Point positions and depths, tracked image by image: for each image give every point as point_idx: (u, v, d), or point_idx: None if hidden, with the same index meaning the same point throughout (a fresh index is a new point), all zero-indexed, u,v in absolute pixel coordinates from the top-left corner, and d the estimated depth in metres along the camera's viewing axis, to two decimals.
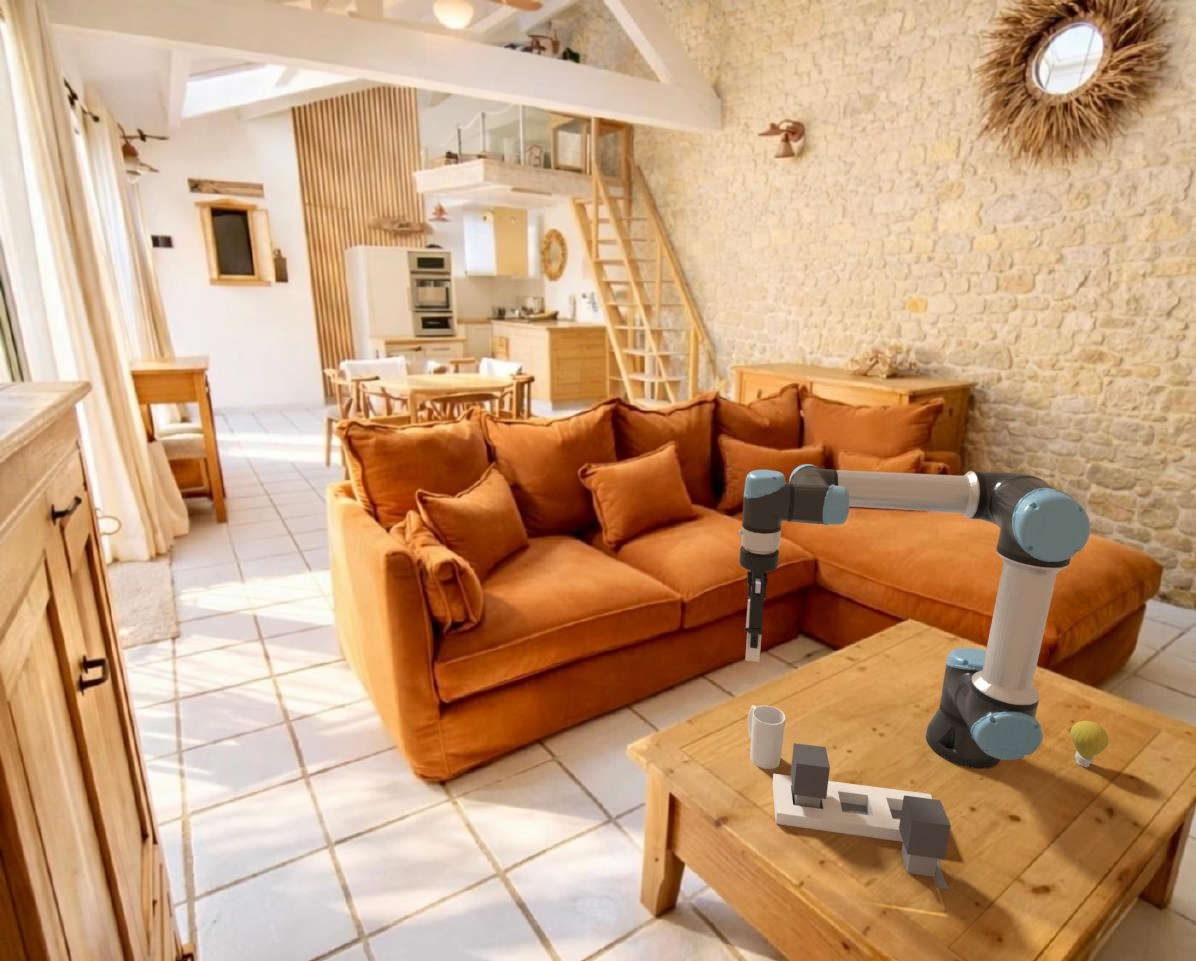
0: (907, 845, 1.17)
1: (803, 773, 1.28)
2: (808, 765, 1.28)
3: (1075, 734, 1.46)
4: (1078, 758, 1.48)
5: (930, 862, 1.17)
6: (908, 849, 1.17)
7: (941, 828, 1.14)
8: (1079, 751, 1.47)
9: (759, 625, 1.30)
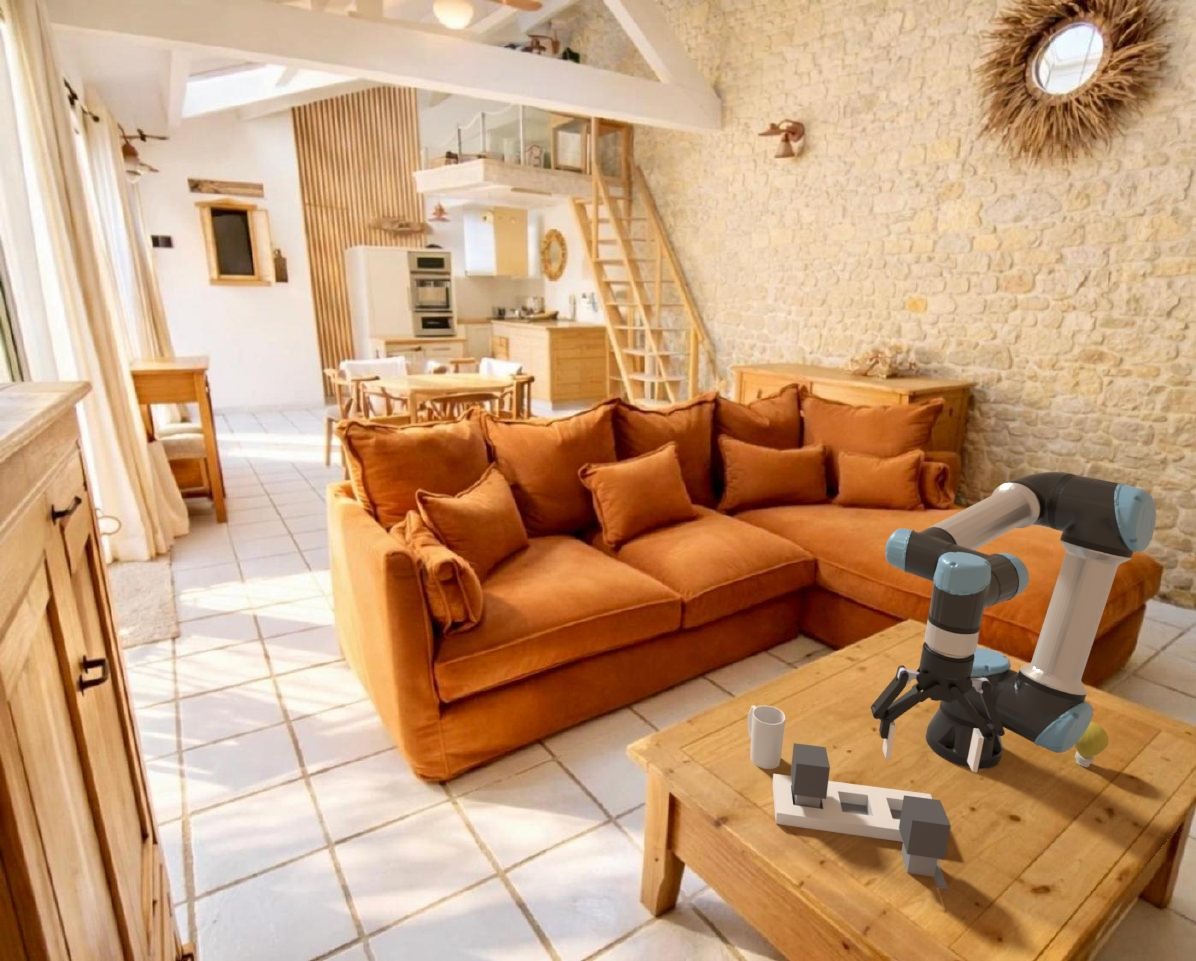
0: (907, 845, 1.17)
1: (803, 773, 1.28)
2: (808, 765, 1.28)
3: None
4: (1078, 758, 1.48)
5: (930, 862, 1.17)
6: (908, 849, 1.17)
7: (941, 828, 1.14)
8: (1079, 751, 1.47)
9: (877, 707, 1.15)
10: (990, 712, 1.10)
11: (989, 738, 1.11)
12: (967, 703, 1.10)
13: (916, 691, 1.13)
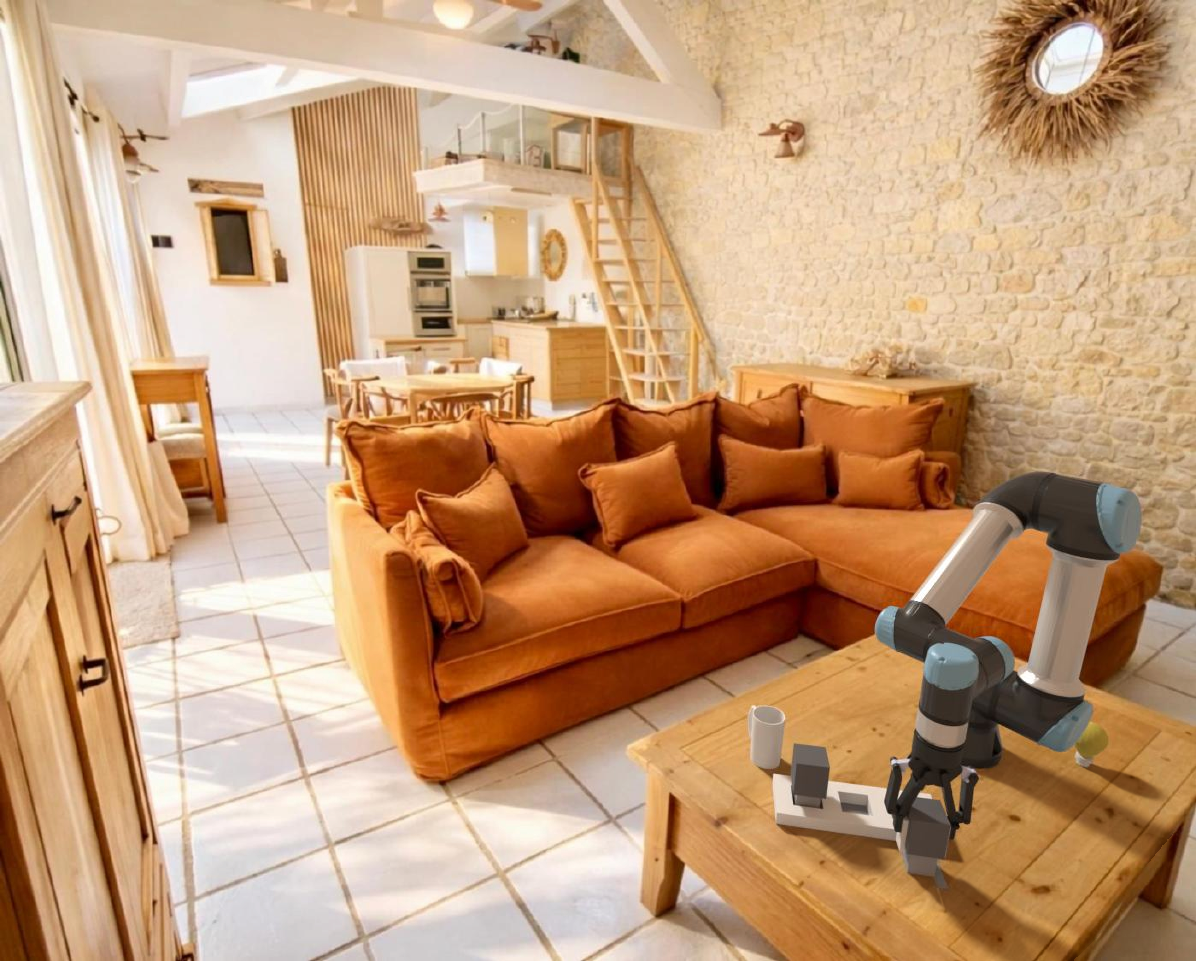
0: (907, 845, 1.17)
1: (803, 773, 1.28)
2: (808, 765, 1.28)
3: None
4: (1078, 758, 1.48)
5: (930, 862, 1.17)
6: (908, 849, 1.17)
7: (941, 828, 1.14)
8: (1079, 751, 1.47)
9: (887, 803, 1.18)
10: (966, 801, 1.14)
11: (955, 827, 1.15)
12: (950, 791, 1.14)
13: (913, 781, 1.16)
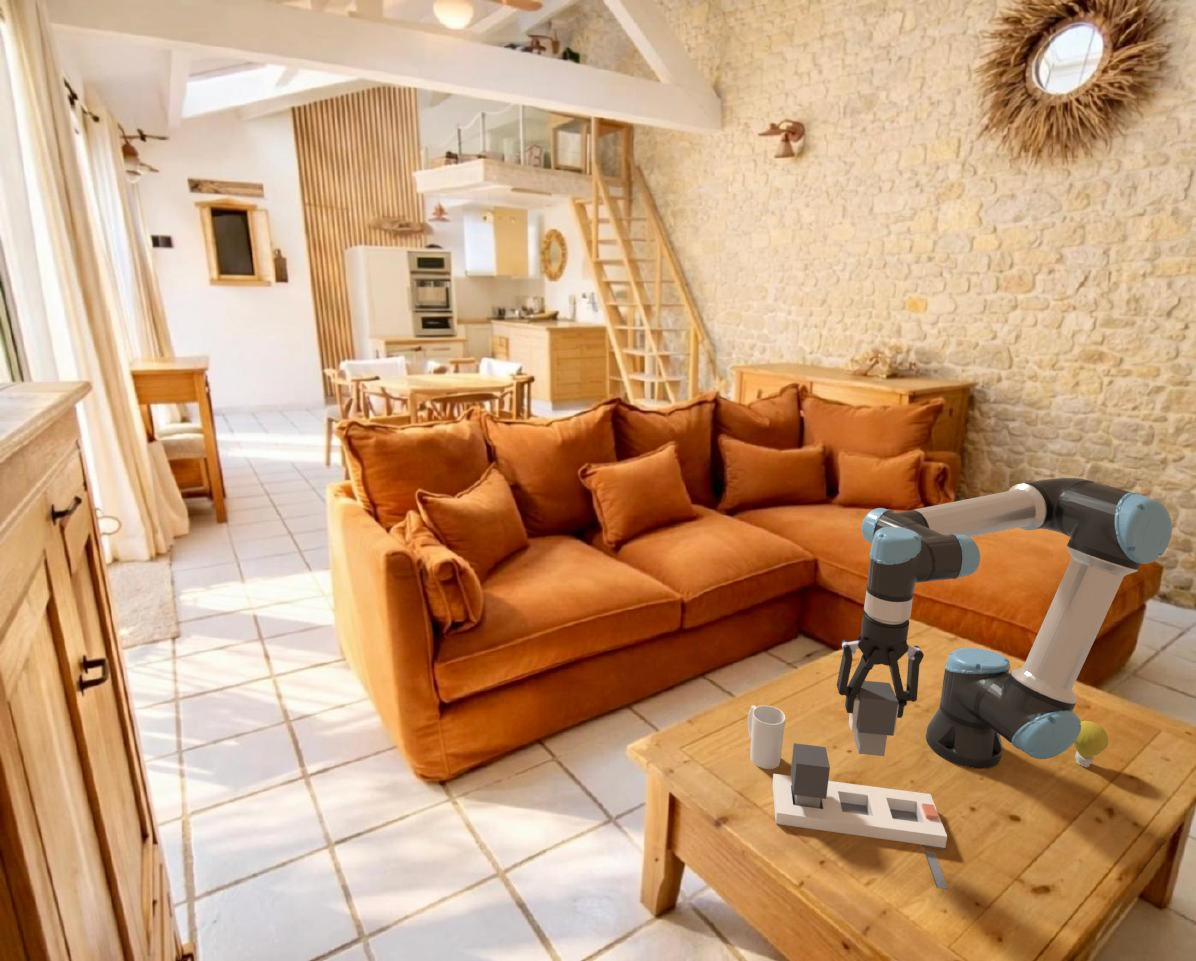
0: (858, 724, 1.23)
1: (803, 773, 1.28)
2: (808, 765, 1.28)
3: None
4: (1078, 758, 1.48)
5: (881, 740, 1.24)
6: (859, 727, 1.23)
7: (889, 705, 1.21)
8: (1079, 751, 1.47)
9: (839, 685, 1.24)
10: (912, 678, 1.21)
11: (902, 704, 1.21)
12: (897, 668, 1.20)
13: (863, 661, 1.22)
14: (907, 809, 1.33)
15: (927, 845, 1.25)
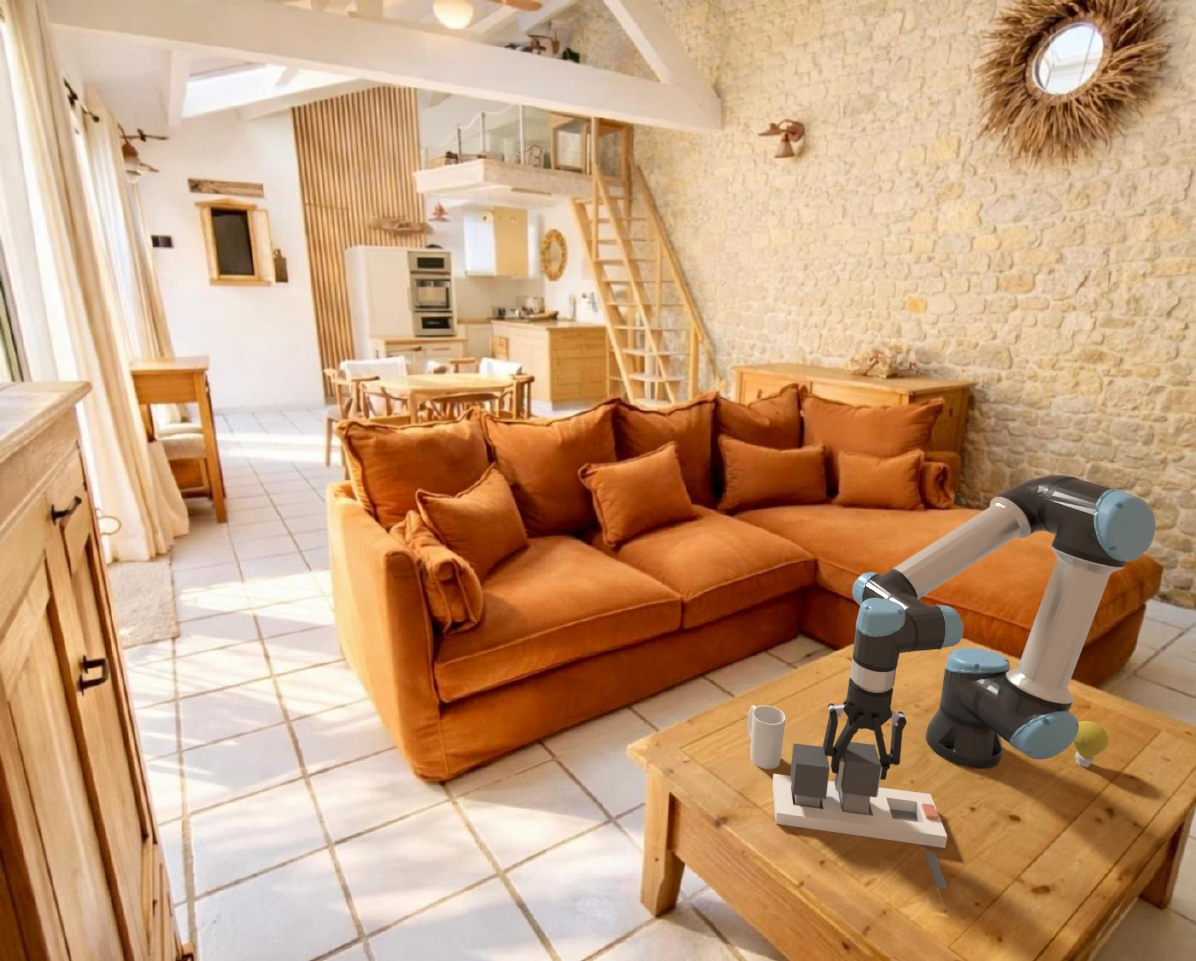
0: (842, 784, 1.28)
1: (802, 773, 1.28)
2: (807, 765, 1.28)
3: None
4: (1078, 758, 1.48)
5: (864, 801, 1.28)
6: (843, 788, 1.27)
7: (872, 768, 1.25)
8: (1079, 751, 1.47)
9: (825, 746, 1.28)
10: (895, 743, 1.25)
11: (886, 767, 1.26)
12: (881, 734, 1.25)
13: (849, 725, 1.27)
14: (907, 809, 1.33)
15: (927, 845, 1.25)
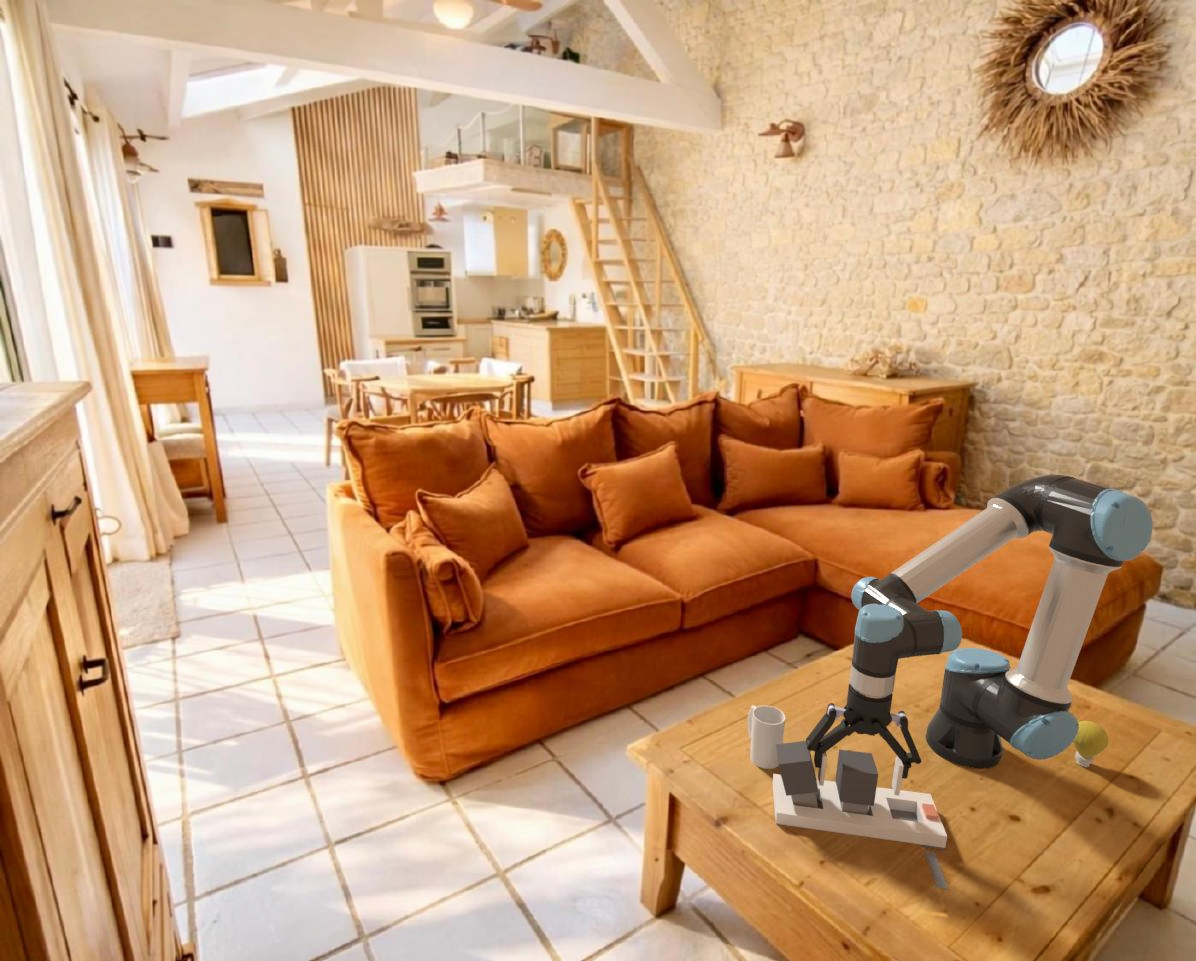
0: (840, 793, 1.28)
1: (787, 772, 1.29)
2: (789, 763, 1.28)
3: None
4: (1078, 758, 1.48)
5: (862, 809, 1.29)
6: (841, 797, 1.28)
7: (870, 777, 1.26)
8: (1079, 751, 1.47)
9: (810, 740, 1.29)
10: (908, 743, 1.25)
11: (908, 766, 1.25)
12: (887, 736, 1.25)
13: (843, 726, 1.27)
14: (907, 809, 1.33)
15: (927, 845, 1.25)
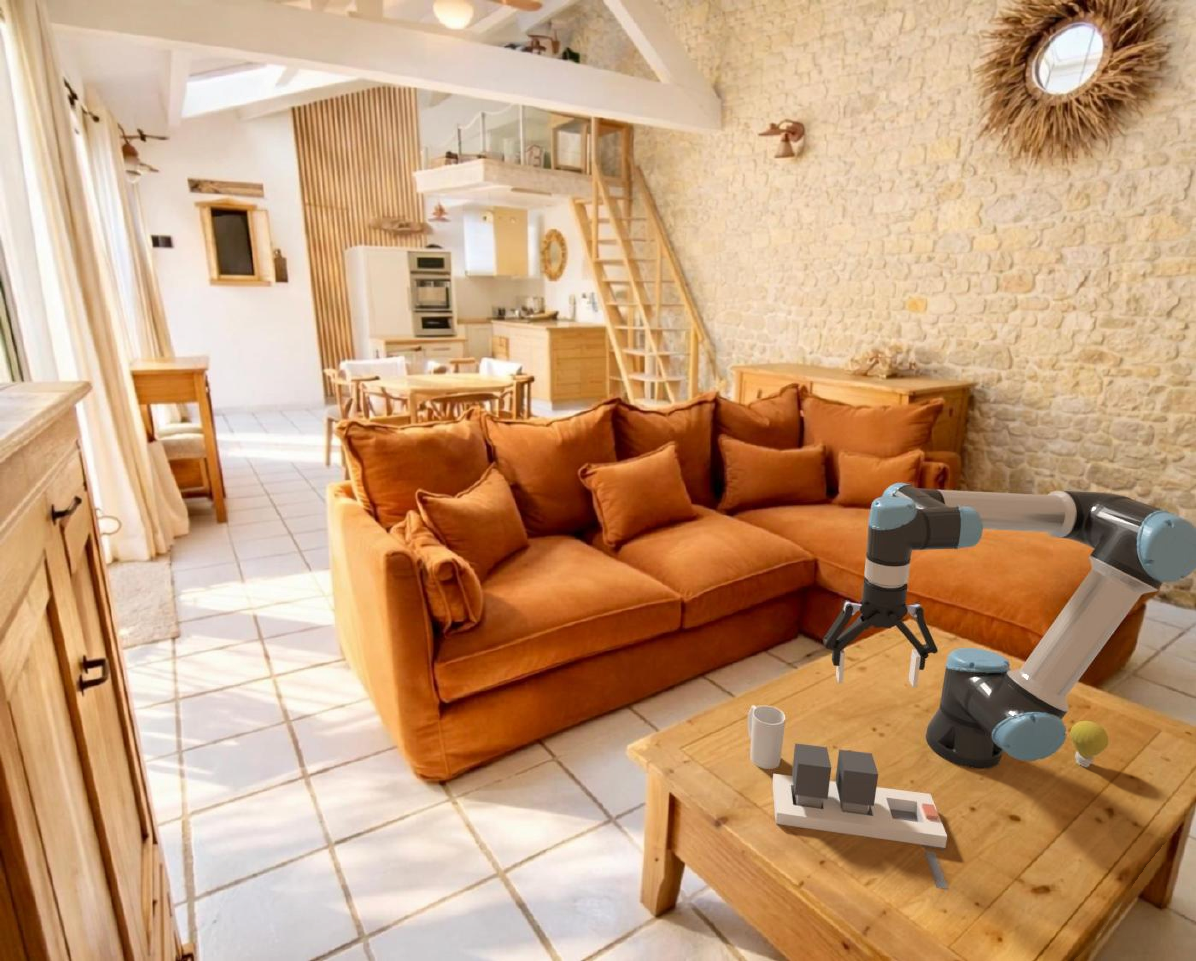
0: (840, 793, 1.28)
1: (804, 773, 1.28)
2: (809, 765, 1.28)
3: (1075, 734, 1.46)
4: (1078, 758, 1.48)
5: (862, 809, 1.29)
6: (841, 797, 1.28)
7: (870, 777, 1.26)
8: (1079, 751, 1.47)
9: (828, 638, 1.30)
10: (924, 633, 1.27)
11: (925, 656, 1.27)
12: (904, 627, 1.26)
13: (860, 621, 1.29)
14: (907, 809, 1.33)
15: (927, 845, 1.25)
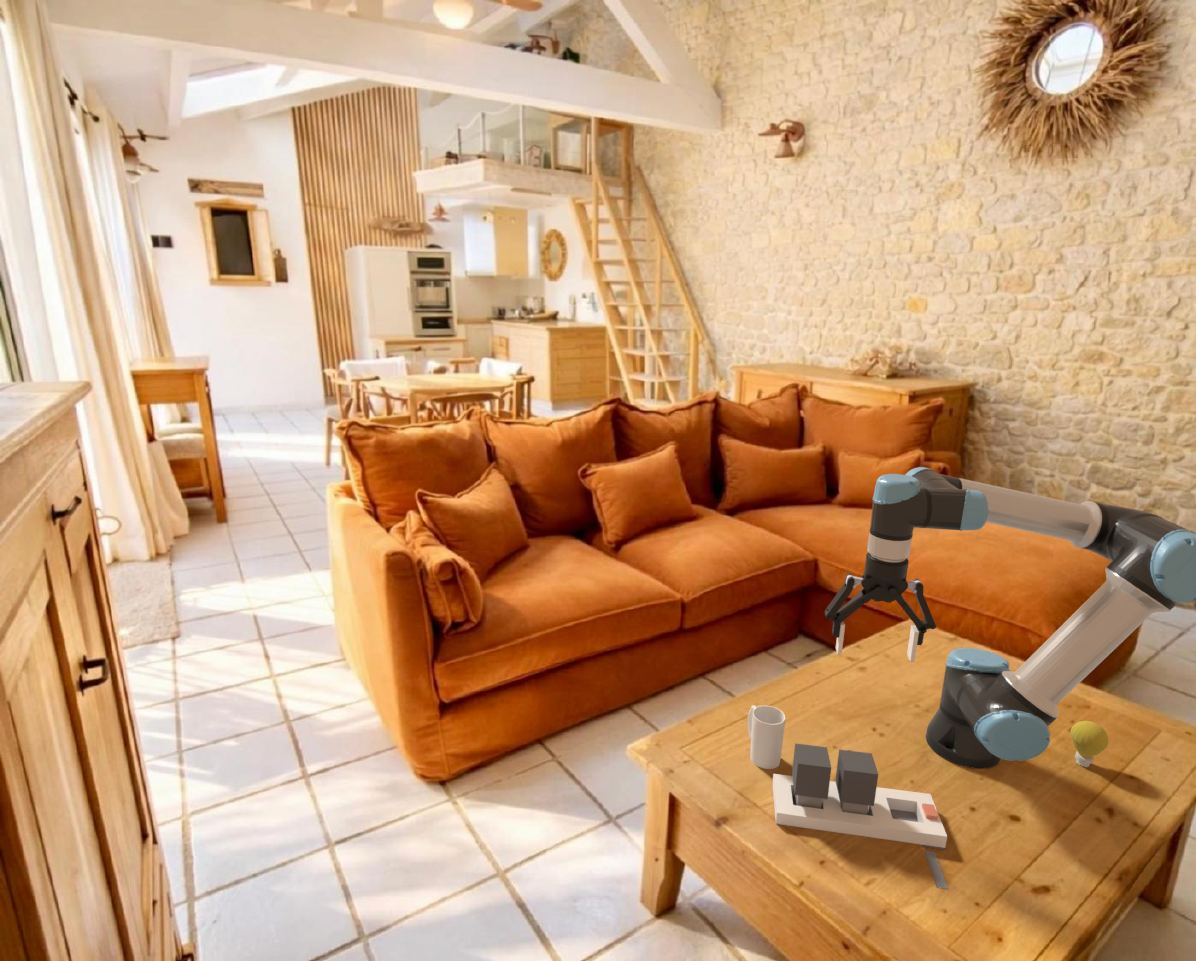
0: (840, 793, 1.28)
1: (804, 773, 1.28)
2: (809, 765, 1.28)
3: (1075, 734, 1.46)
4: (1078, 758, 1.48)
5: (862, 809, 1.29)
6: (841, 797, 1.28)
7: (870, 777, 1.26)
8: (1079, 751, 1.47)
9: (829, 610, 1.34)
10: (923, 609, 1.30)
11: (923, 631, 1.31)
12: (904, 602, 1.30)
13: (861, 595, 1.33)
14: (907, 809, 1.33)
15: (927, 845, 1.25)
